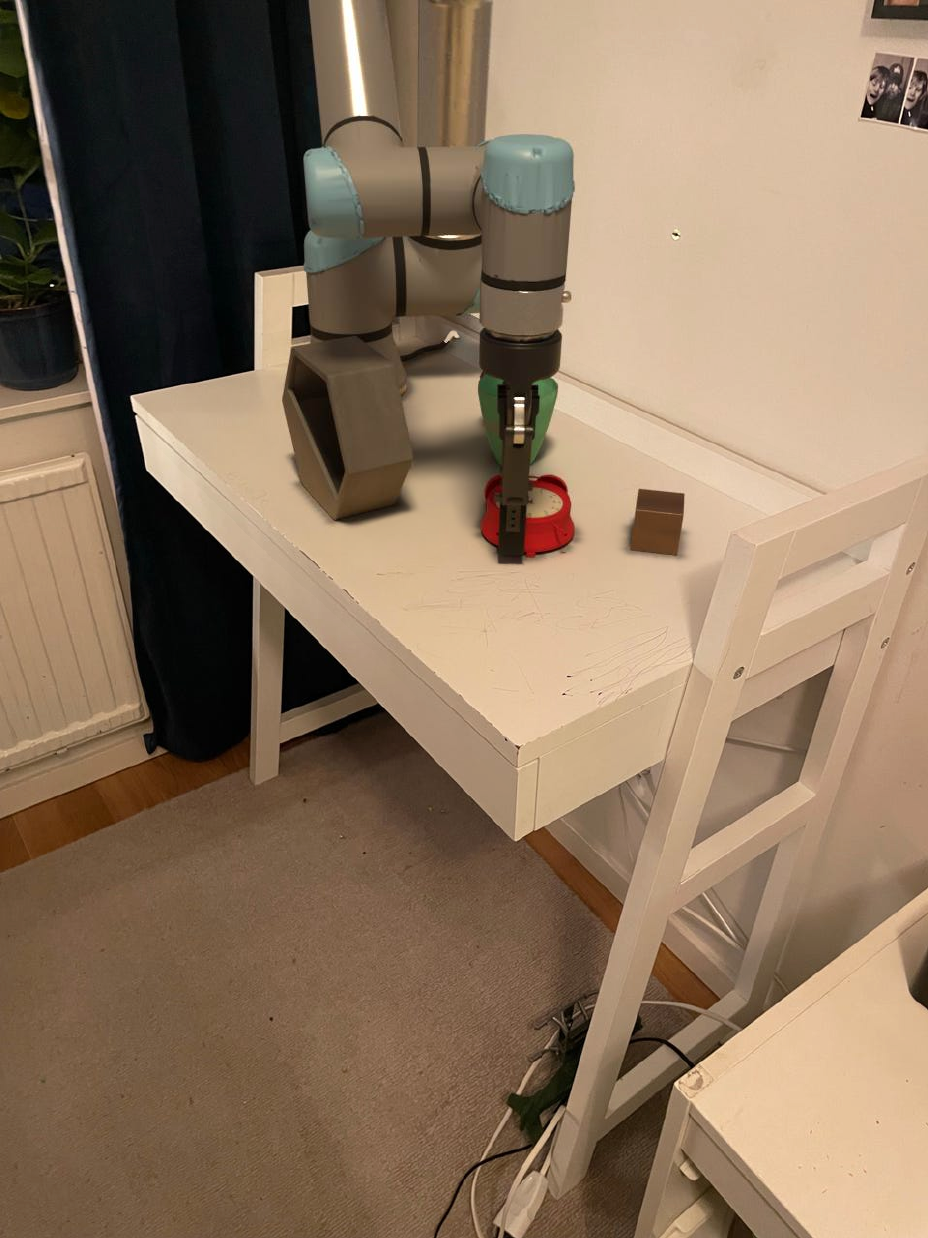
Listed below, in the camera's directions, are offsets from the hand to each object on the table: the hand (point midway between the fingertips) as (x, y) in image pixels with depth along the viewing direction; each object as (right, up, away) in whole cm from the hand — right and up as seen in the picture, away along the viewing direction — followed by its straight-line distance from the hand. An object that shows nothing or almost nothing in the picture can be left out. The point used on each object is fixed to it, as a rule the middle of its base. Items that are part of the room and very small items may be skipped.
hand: (510, 551), depth 98 cm
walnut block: (+16, +1, +5) cm, 17 cm away
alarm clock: (+2, +4, +8) cm, 9 cm away
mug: (+1, +14, +23) cm, 27 cm away
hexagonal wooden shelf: (-19, +7, +13) cm, 24 cm away
